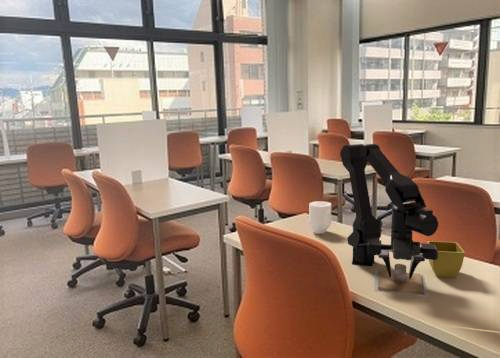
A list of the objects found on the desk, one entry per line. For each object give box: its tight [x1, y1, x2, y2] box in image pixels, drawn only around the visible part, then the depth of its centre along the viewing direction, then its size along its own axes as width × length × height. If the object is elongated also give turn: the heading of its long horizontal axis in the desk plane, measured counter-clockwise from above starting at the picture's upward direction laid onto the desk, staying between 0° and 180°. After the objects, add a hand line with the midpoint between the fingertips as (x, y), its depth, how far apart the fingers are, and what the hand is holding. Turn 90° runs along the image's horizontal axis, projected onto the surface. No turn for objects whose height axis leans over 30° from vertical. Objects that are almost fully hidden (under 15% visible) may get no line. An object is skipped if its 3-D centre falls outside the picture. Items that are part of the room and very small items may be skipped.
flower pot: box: [426, 240, 466, 278], centre depth 125 cm, size 9×9×9 cm
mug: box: [308, 200, 333, 235], centre depth 167 cm, size 12×9×12 cm
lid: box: [377, 263, 424, 294], centre depth 120 cm, size 12×12×5 cm
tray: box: [374, 270, 429, 297], centre depth 120 cm, size 14×14×1 cm
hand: (399, 277), depth 120 cm, fingers open, 5 cm apart
